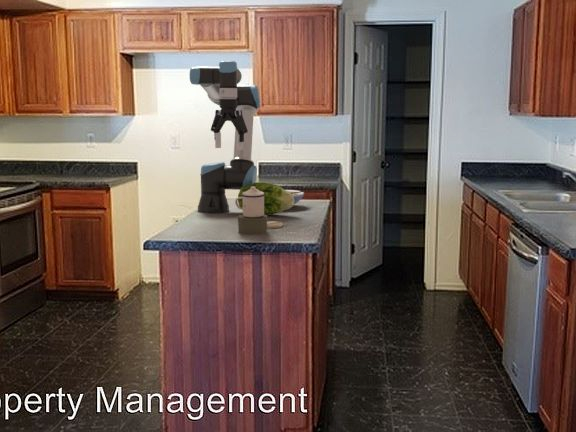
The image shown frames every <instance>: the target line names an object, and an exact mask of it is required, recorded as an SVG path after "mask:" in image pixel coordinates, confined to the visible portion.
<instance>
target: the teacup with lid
mask: <svg viewBox="0 0 576 432" xmlns="http://www.w3.org/2000/svg"><path fill="white" fill-rule="evenodd" d="M264 195H265V194H264V192H261V191H259V190H258V189H256V187H254V186H253V187H251V189H249V190H247V191H246V192H243V193H242V197H238V196H237V198H235V202H234V203H235V206H236V207H237V209H239V210H242V209H243V210H242V214H243V216H245V217H261V216H263V215H264ZM238 199H243V207H240V206H239V203H238Z"/></svg>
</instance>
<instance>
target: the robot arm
mask: <svg viewBox="0 0 576 432" xmlns="http://www.w3.org/2000/svg"><path fill="white" fill-rule="evenodd" d="M242 78H243V74H242V72H241V71H240V69H239V68H238V65H237V62H236V61H235V60H222V61H220V62H219V64H218V66H195V67H194V66H192V67H191V68H190V69H189V82H190V84H191V85H195V86H198V85H199V86H200V87H201V88H202V89H203V90H204V91H205V92H206V94H207V97H208V99H209V101H211V102H212V103H214V104H215V105H217V106H219V108H220V109H216V110H215V113H214V114H215V115H214V118H213V120H212V121H213V122H212V125H211V126H210V127H211V128H210V131H211V132H212V133H214V135H213V136H214V142H215V144H214V145H215V146H214V147H215V149H221V148H222V132H221V130H222V128H223V127H224V125H225V123H226V122H227V121H228V122H230V123H232V125H233V126H234V129H235V131H234V146H233V158H232V159H231V160H230V162H229V165H228V164H227V165H226V163H225V161H220V162H212V163H211V162H210V163H206V164H203V165H202V166H201V167H200V174H199V175H200V194H201V195H200V198H199V201H198V205H197V211H198V213H199V212H200V213H207V214H208V213H209V214H215V213H216V214H217V213H218V214H219V213H220V214H221V213H225V212H226V213H227V212H229V211H230V205H229V202H228V198H227V196H226V190H238V191H240V189H241V188H242V187H244V186H245V185H247V184H251V183H257V176H258V175H257V174H258V173H257V171H258V168H257V165H255V162H254V161H253V160H252V149H253V147H252V146H253V131H254V115H256V114H257V112H258V110H259V109H260V108H261V98H260V97H261V96H260V92H259V87H258V85H256V84H249V83H247V84H240V82H241V81H242Z"/></svg>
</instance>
